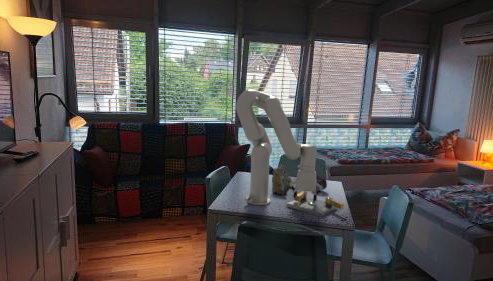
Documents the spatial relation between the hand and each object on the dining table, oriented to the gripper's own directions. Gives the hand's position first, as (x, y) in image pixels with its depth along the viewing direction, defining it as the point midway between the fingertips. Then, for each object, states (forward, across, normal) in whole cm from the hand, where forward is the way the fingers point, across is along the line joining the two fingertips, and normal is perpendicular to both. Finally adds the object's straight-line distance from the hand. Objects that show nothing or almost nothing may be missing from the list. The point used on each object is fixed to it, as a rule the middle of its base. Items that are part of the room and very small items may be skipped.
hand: (304, 200), depth 174 cm
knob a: (+1, -2, +7) cm, 7 cm away
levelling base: (+3, +4, 0) cm, 5 cm away
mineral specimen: (+4, +4, +34) cm, 34 cm away
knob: (+1, +12, +1) cm, 12 cm away
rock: (+4, -16, +26) cm, 31 cm away
